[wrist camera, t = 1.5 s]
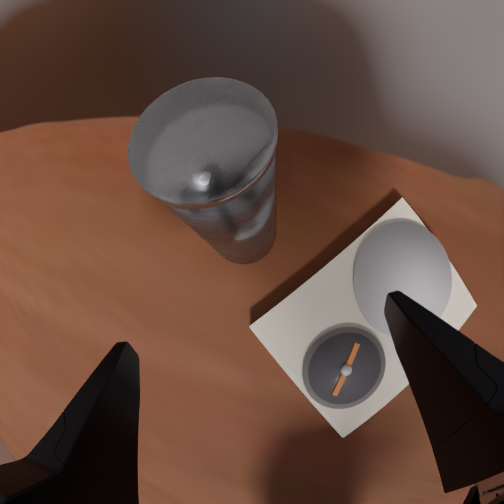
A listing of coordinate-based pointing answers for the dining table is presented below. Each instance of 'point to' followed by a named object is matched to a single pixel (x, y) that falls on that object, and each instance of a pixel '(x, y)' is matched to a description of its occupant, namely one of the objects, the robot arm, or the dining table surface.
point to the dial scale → (361, 317)
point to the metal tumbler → (212, 162)
